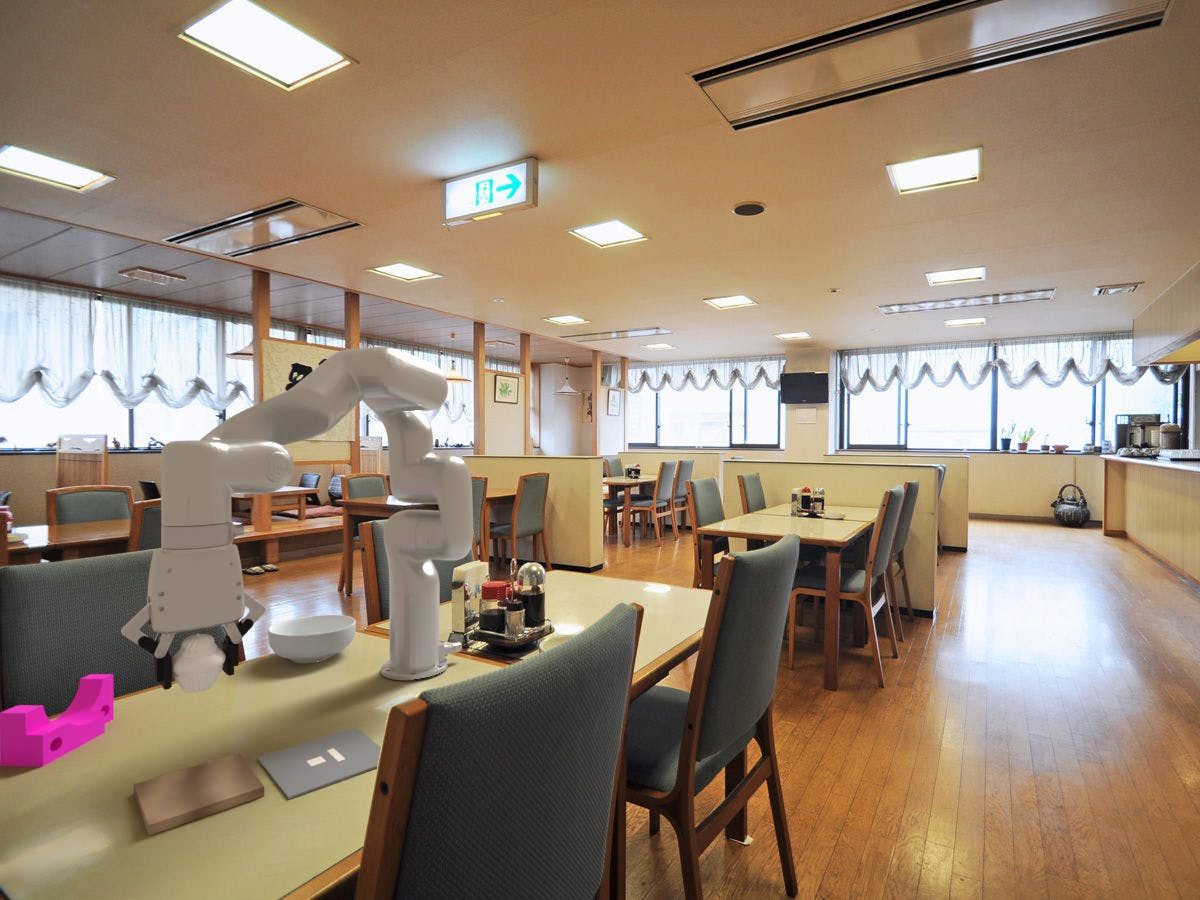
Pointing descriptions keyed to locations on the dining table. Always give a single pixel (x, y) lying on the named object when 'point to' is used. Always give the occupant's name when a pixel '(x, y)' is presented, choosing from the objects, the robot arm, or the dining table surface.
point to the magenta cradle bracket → (56, 725)
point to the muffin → (197, 663)
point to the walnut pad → (196, 792)
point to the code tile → (321, 761)
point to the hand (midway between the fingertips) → (197, 678)
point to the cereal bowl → (311, 637)
